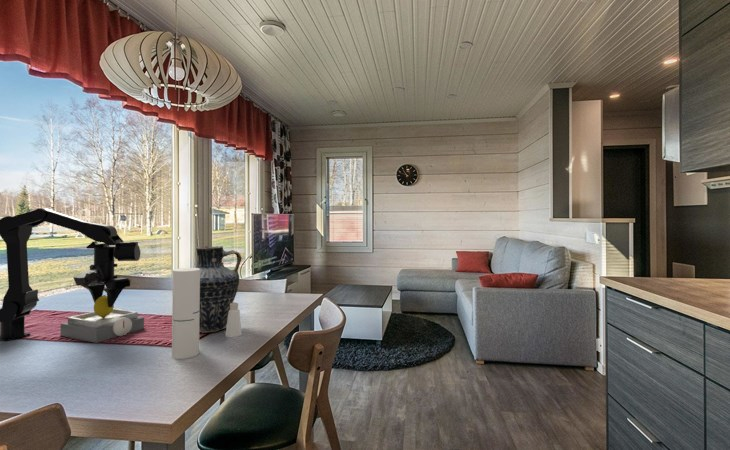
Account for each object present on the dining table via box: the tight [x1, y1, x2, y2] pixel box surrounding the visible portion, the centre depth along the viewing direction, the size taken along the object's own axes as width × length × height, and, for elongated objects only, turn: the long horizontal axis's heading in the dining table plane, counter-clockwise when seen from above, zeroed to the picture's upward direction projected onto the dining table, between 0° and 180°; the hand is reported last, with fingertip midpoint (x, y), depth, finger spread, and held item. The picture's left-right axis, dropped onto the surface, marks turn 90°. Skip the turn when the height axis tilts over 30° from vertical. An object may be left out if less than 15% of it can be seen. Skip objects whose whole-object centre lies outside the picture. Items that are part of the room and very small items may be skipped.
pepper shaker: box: [225, 302, 242, 339], centre depth 120 cm, size 5×5×11 cm
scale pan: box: [67, 308, 139, 329], centre depth 121 cm, size 14×14×2 cm
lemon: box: [93, 294, 115, 318], centre depth 121 cm, size 6×6×8 cm
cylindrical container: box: [171, 267, 200, 360], centre depth 102 cm, size 7×7×25 cm
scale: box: [60, 316, 145, 344], centre depth 120 cm, size 19×16×6 cm
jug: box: [194, 245, 243, 333], centre depth 126 cm, size 21×19×30 cm
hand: (103, 306), depth 121 cm, fingers open, 6 cm apart
